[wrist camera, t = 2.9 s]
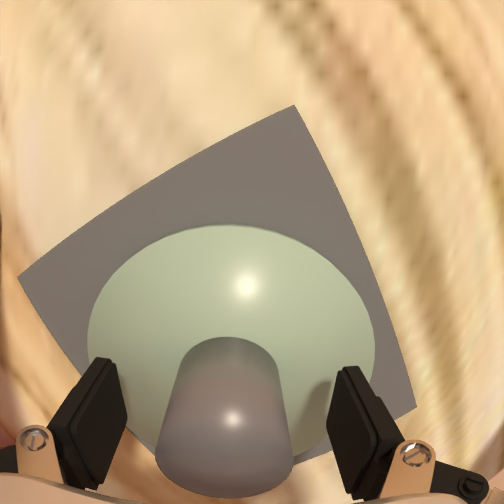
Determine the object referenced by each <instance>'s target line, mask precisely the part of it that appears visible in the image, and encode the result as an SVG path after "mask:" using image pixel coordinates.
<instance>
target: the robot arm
mask: <svg viewBox="0 0 504 504" xmlns="http://www.w3.org/2000/svg"><path fill="white" fill-rule="evenodd" d="M127 419H128V416H127V411H126V407H125V403H124V398H123V394H122V390H121V385H120V381H119V376H118V371H117V366H116V364H115V363H112V360H111V359H110V358H102V357H96V358H95V359H94V360H93V362H92V363H91V364H90V366H89V367H88V369H87V370H86V372H85V373H84V374H83V376H82V377H81V379H80V380H79V382H78V383H77V385H76V386H74V387H73V388H72V390H71V391H70V393H69V394H68V396H67V397H66V399H65V400H64V402H63V403H62V405H61V406H60V408H59V409H58V411H57V412H56V414H55V415H54V417H53V418H52V420H51V421H50V423H49V424H48V426H47V427H46V428H45V427H44V426H40V425H31V426H28V427H25V428H23V429H22V430H21V431H20V432H19V433H18V435H17V436H16V445H13V446H9V447H5V448H2V449H0V504H144V503H138V502H133V501H128V500H123V499H118V498H114V497H109V496H105V495H101V494H97V493H93V492H89V491H86V490H85V488H89V489H92V490H96V491H97V488H98V485H99V484H103V483H104V480H105V478H106V475H107V472H108V470H109V467H110V464H111V462H112V459H113V456H114V454H115V451H116V449H117V446H118V444H119V441H120V439H121V436H122V433H123V431H124V428H125V426H126V423H127ZM326 429H327V433H328V436H329V439H330V442H331V445H332V449H333V452H334V455H335V458H336V461H337V465H338V468H339V471H340V474H341V478H342V481H343V484H344V487H345V491H346V493H347V494H350V493H351V496H352V499H353V500H358V499H363V500H364V501H365V502H359V503H353V504H504V491H502V490H500V489H498V488H495V487H494V488H493V490H491V489H489V485H488V482H487V480H486V479H485V478H484V477H483V476H482V475H480V474H477V473H474V472H471V471H467V470H464V469H461V468H457V467H454V466H451V465H448V464H445V463H442V462H439V461H436V453H435V451H434V449H433V448H432V447H431V446H430V445H429V444H427V443H426V442H423V441H420V440H407V441H405V439H404V438H403V436H402V434H401V432H400V430H399V429H398V427H397V425H396V423H395V422H394V420H393V418H392V416H391V415H390V413H389V411H388V409H387V408H386V406H385V404H384V402H383V401H382V399H381V398H380V397H379V396H376V395H375V393H374V392H373V390H372V388H371V386H370V385H369V383H368V381H367V379H366V378H365V376H364V374H363V372H362V371H361V369H360V367H359V366H344V367H343V368H342V370H339V371H338V372H337V376H336V381H335V386H334V390H333V395H332V399H331V403H330V408H329V412H328V416H327V420H326Z"/></svg>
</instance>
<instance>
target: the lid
mask: <svg viewBox="0 0 504 504" xmlns="http://www.w3.org/2000/svg"><path fill="white" fill-rule="evenodd" d="M87 351H88V357H89V363H90V364H91V363H92V362H93V360H94V359H95V358H96V357H102V358H110V359H111V360H112V363H115V364H116V366H117V371H118V376H119V381H120V385H121V390H122V394H123V398H124V403H125V407H126V411H127V416H128V419H127V423H126V426H127V427H128V428H129V429H130V430H131V431H132V432H134V433H135V434H136V435H137V436H139V437H140V438H141V439H143V440H144V441H146V442H148V443H149V444H151V445H152V446H154V447H156V448H155V459H156V462H157V465H158V467H159V468H160V470H161V471H162V472H163V474H164V475H165V476H166V477H167V478H169V479H170V480H171V481H172V482H174V483H175V484H177V485H179V486H180V487H182V488H184V489H186V490H189V491H191V492H194V493H197V494H201V495H205V496H209V497H216V498H243V497H250V496H254V495H258V494H261V493H264V492H266V491H269V490H271V489H273V488H275V487H276V486H278V485H279V484H281V483H282V482H283V481H284V480H285V479H286V478H287V477H288V476H289V474H290V472H291V471H292V468H293V463H294V459H293V457H294V456H296V455H299V454H301V453H303V452H306V451H307V450H309V449H311V448H313V447H315V446H316V445H318V444H320V443H321V442H323V441H324V440H325V439H327V438H328V437H329V436H328V433H327V429H326V420H327V416H328V412H329V408H330V403H331V399H332V395H333V390H334V386H335V381H336V376H337V372H338V371H339V370H342V368H343V367H344V366H359V367H360V369H361V371H362V372H363V374H364V376H365V378H366V379H367V381H368V383H369V382H370V379H371V376H372V371H373V366H374V360H375V341H374V333H373V327H372V324H371V321H370V318H369V314H368V312H367V310H366V307H365V305H364V303H363V301H362V299H361V297H360V296H359V294H358V293H357V292H356V290H355V289H354V287H353V286H352V285H351V283H350V282H349V281H348V280H347V278H346V277H345V276H344V275H343V274H342V273H341V272H340V271H339V270H338V269H337V268H336V267H335V266H334V265H333V264H332V263H331V262H330V261H329V260H328V259H327V258H325V257H324V256H323V255H321V254H320V253H319V252H317V251H316V250H315V249H313V248H312V247H310V246H308V245H306V244H304V243H303V242H301V241H299V240H297V239H295V238H293V237H290V236H288V235H285V234H283V233H280V232H277V231H275V230H270V229H266V228H262V227H257V226H253V225H242V224H209V225H203V226H197V227H192V228H187V229H184V230H181V231H178V232H175V233H172V234H169V235H167V236H165V237H163V238H161V239H159V240H157V241H155V242H153V243H151V244H149V245H148V246H146V247H145V248H143V249H142V250H141V251H139V252H138V253H136V254H135V255H134V256H132V257H131V258H130V259H129V260H127V261H126V262H125V263H124V264H123V265H122V266H121V267H120V268H119V269H118V270H117V271H116V272H115V273H114V274H113V275H112V276H111V278H110V279H109V280H108V282H107V283H106V284H105V286H104V287H103V288H102V290H101V292H100V294H99V296H98V298H97V300H96V302H95V304H94V307H93V310H92V313H91V317H90V320H89V327H88V334H87Z"/></svg>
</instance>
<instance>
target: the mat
mask: <svg viewBox="0 0 504 504" xmlns="http://www.w3.org/2000/svg"><path fill="white" fill-rule="evenodd" d="M209 224H242V225H253V226H257V227H262V228H266V229H270V230H275V231H277V232H280V233H283V234H285V235H288V236H290V237H293V238H295V239H297V240H299V241H301V242H303V243H304V244H306V245H308V246H310V247H312V248H313V249H315V250H316V251H317V252H319V253H320V254H321V255H323V256H324V257H325V258H327V259H328V260H329V261H330V262H331V263H332V264H333V265H334V266H335V267H336V268H337V269H338V270H339V271H340V272H341V273H342V274H343V275H344V276H345V277H346V278H347V280H348V281H349V282H350V283H351V285H352V286H353V287H354V289H355V290H356V292H357V293H358V294H359V296H360V297H361V299H362V301H363V303H364V305H365V307H366V310H367V312H368V314H369V318H370V321H371V324H372V327H373V333H374V341H375V360H374V366H373V371H372V376H371V379H370V382H369V385H370V386H371V388H372V390H373V392H374V393H375V395H376V396H379V397H380V398H381V399H382V401H383V402H384V404H385V406H386V408H387V409H388V411H389V413H390V415H391V416H392V418H393V420H395V419H397V418H399V417H401V416H403V415H404V414H406V413H408V412H410V411H411V410H413V409H415V408H416V407H417V405H416V402H415V398H414V394H413V390H412V387H411V383H410V380H409V376H408V373H407V369H406V366H405V363H404V360H403V356H402V353H401V350H400V347H399V344H398V341H397V337H396V334H395V331H394V328H393V325H392V323H391V320H390V317H389V314H388V311H387V308H386V305H385V303H384V300H383V297H382V294H381V292H380V289H379V286H378V284H377V281H376V278H375V276H374V273H373V271H372V268H371V266H370V263H369V261H368V258H367V256H366V253H365V251H364V248H363V246H362V243H361V241H360V239H359V236H358V234H357V231H356V229H355V227H354V225H353V222H352V220H351V218H350V215H349V213H348V211H347V209H346V206H345V204H344V202H343V200H342V198H341V195H340V193H339V191H338V189H337V187H336V185H335V183H334V181H333V178H332V176H331V174H330V172H329V170H328V168H327V166H326V164H325V162H324V160H323V158H322V156H321V154H320V152H319V150H318V148H317V146H316V144H315V142H314V140H313V138H312V137H311V135H310V133H309V131H308V129H307V127H306V125H305V123H304V122H303V120H302V118H301V116H300V114H299V112H298V111H297V109H296V107H295V105H292V106H290V107H288V108H286V109H284V110H281V111H279V112H277V113H275V114H273V115H271V116H269V117H267V118H264V119H262V120H260V121H258V122H256V123H254V124H252V125H250V126H248V127H246V128H244V129H242V130H240V131H238V132H236V133H234V134H233V135H231V136H229V137H227V138H225V139H223V140H221V141H219V142H217V143H215V144H214V145H212V146H210V147H208V148H206V149H204V150H203V151H201V152H199V153H197V154H196V155H194V156H192V157H190V158H188V159H187V160H185V161H183V162H181V163H180V164H178V165H176V166H175V167H173V168H171V169H170V170H168V171H166V172H165V173H163V174H161V175H160V176H158V177H156V178H155V179H153V180H151V181H150V182H148V183H147V184H145V185H143V186H142V187H140V188H139V189H137V190H135V191H134V192H132V193H131V194H129V195H128V196H126V197H125V198H123V199H122V200H120V201H119V202H117V203H116V204H114V205H113V206H111V207H110V208H108V209H107V210H105V211H104V212H102V213H101V214H99V215H98V216H96V217H95V218H94V219H92V220H91V221H89V222H88V223H87V224H85V225H84V226H82V227H81V228H80V229H78V230H77V231H75V232H74V233H73V234H71V235H70V236H69V237H67V238H66V239H65V240H63V241H62V242H61V243H59V244H58V245H57V246H55V247H54V248H53V249H51V250H50V251H49V252H48V253H46V254H45V255H44V256H43V257H41V258H40V259H39V260H37V261H36V262H35V263H34V264H33V265H31V266H30V267H29V268H28V269H26V270H25V271H24V272H23V273H22V274H20V275H19V276H18V277H17V278H18V280H19V282H20V284H21V286H22V287H23V289H24V291H25V293H26V294H27V296H28V298H29V300H30V301H31V303H32V305H33V306H34V308H35V310H36V311H37V313H38V314H39V316H40V318H41V319H42V321H43V322H44V324H45V325H46V327H47V328H48V330H49V331H50V333H51V334H52V336H53V337H54V339H55V340H56V342H57V343H58V345H59V346H60V347H61V349H62V350H63V352H64V353H65V354H66V356H67V357H68V359H69V360H70V361H71V363H72V364H73V365H74V367H75V368H76V369H77V371H78V372H79V373H80V374H81V376H83V374H84V373H85V372H86V370H87V369H88V367H89V366H90V363H89V357H88V351H87V334H88V327H89V320H90V317H91V313H92V310H93V307H94V304H95V302H96V300H97V298H98V296H99V294H100V292H101V290H102V288H103V287H104V286H105V284H106V283H107V282H108V280H109V279H110V278H111V276H112V275H113V274H114V273H115V272H116V271H117V270H118V269H119V268H120V267H121V266H122V265H123V264H124V263H125V262H126V261H127V260H129V259H130V258H131V257H132V256H134V255H135V254H136V253H138V252H139V251H141V250H142V249H143V248H145V247H146V246H148V245H149V244H151V243H153V242H155V241H157V240H159V239H161V238H163V237H165V236H167V235H169V234H172V233H175V232H178V231H181V230H184V229H187V228H192V227H197V226H203V225H209ZM125 427H126V428H127V429H128V430H129V431H130V432H131V433H132V434H133V435H134V436H135V437H136V438H137V439H138V440H139V441H140V442H141V443H142V444H143V445H144V446H145V447H146V448H147V449H148V450H149V451H150V452H152V453H153V454H154V455H155V448H156V447H154V446H152V445H151V444H149V443H148V442H146V441H144V440H143V439H141V438H140V437H139V436H137V435H136V434H135V433H134V432H132V431H131V430H130V429H129V428H128V427H127V426H125ZM331 450H333V449H332V445H331V442H330V439H329V437H328V438H327V439H325V440H324V441H323V442H321V443H320V444H318V445H316V446H315V447H313V448H311V449H309V450H307V451H306V452H303V453H301V454H299V455H296V456H294V457H293V459H294V463H293V465H296V464H298V463H301V462H304V461H306V460H309V459H312V458H314V457H317V456H319V455H322V454H324V453H327V452H329V451H331Z"/></svg>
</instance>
